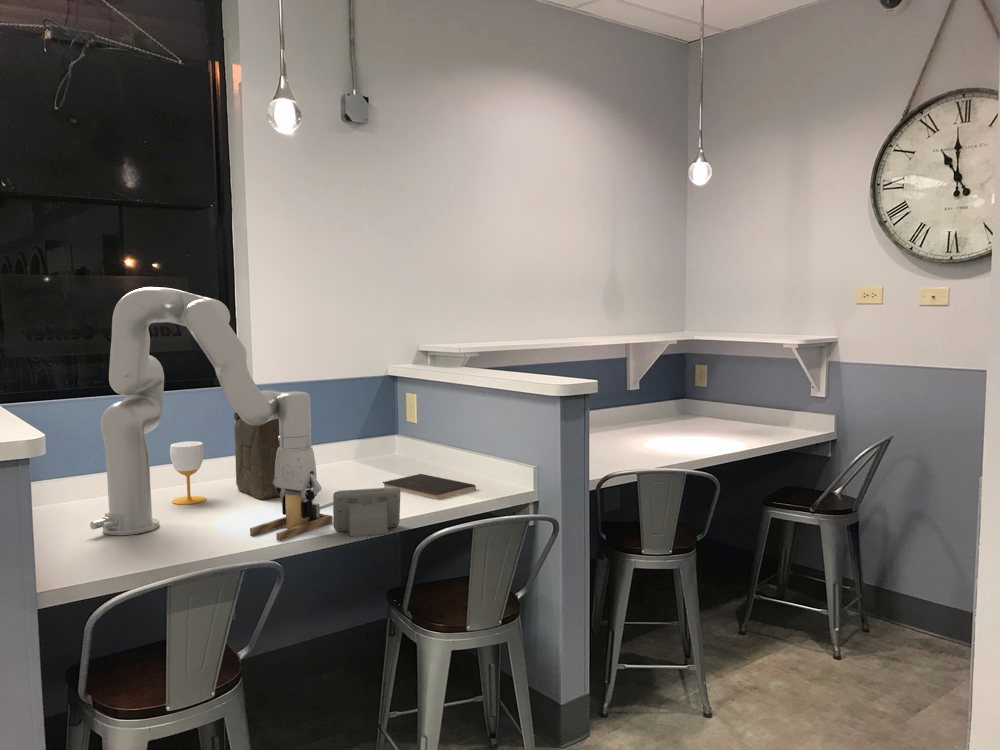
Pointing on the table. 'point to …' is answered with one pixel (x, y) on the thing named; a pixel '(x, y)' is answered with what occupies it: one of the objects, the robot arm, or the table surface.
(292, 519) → the jar
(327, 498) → the table surface
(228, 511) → the table surface
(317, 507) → the pusher
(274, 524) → the lane
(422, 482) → the hardcover book
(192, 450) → the cup
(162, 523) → the table surface
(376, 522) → the digital clock
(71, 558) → the table surface
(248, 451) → the canister
